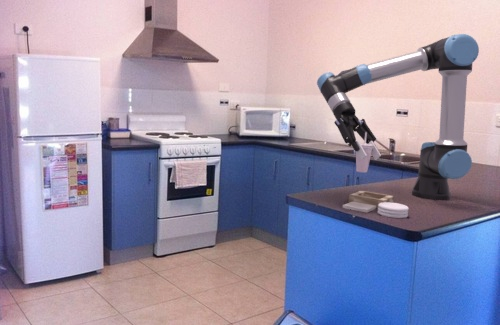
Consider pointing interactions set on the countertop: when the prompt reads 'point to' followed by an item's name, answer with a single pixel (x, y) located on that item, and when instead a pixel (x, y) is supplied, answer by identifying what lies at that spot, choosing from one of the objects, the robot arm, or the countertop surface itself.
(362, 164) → the smoothie
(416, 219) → the countertop surface
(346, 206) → the tile
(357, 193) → the square wooden frame
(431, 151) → the robot arm
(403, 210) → the coaster
